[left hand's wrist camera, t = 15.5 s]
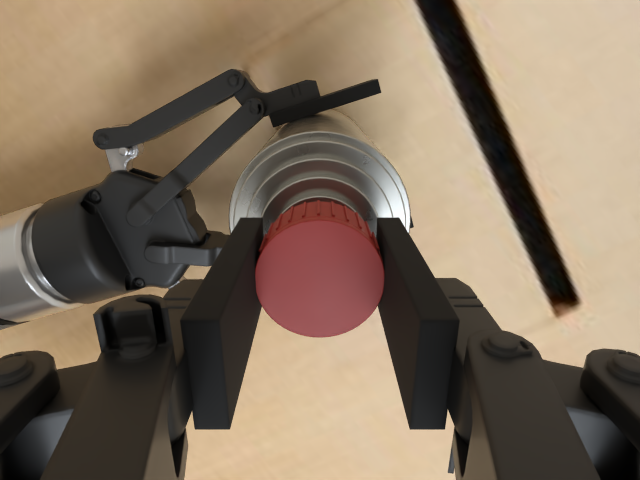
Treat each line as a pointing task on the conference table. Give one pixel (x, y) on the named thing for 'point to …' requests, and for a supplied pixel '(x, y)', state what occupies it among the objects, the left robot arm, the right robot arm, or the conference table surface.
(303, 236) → the cap
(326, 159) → the bottle
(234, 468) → the conference table surface
